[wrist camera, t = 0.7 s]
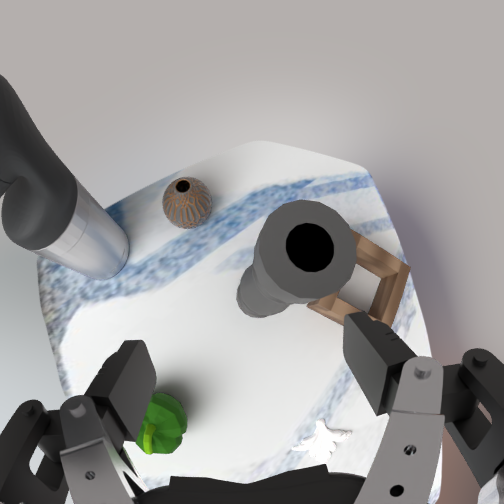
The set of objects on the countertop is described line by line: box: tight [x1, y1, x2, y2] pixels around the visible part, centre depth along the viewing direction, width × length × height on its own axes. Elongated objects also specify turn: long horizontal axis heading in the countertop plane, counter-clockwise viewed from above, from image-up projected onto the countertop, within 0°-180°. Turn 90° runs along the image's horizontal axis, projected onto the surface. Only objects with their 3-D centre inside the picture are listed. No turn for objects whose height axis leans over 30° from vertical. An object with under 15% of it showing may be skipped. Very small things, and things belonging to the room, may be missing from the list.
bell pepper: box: [136, 393, 187, 455], centre depth 28 cm, size 8×8×10 cm
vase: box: [163, 177, 212, 229], centre depth 37 cm, size 7×7×9 cm
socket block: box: [307, 229, 410, 328], centre depth 38 cm, size 12×12×5 cm
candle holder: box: [237, 200, 357, 318], centre depth 27 cm, size 6×6×25 cm
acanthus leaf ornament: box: [292, 419, 352, 464], centre depth 33 cm, size 8×7×2 cm
